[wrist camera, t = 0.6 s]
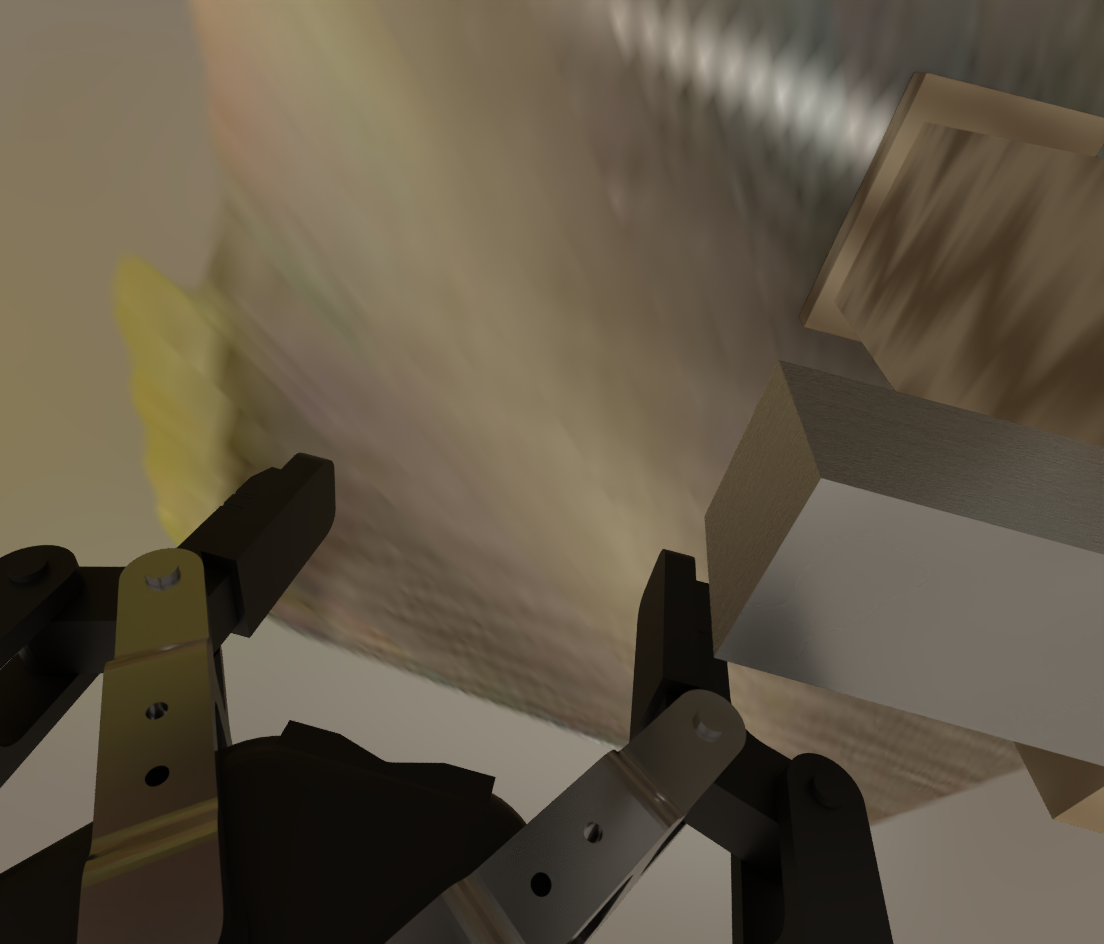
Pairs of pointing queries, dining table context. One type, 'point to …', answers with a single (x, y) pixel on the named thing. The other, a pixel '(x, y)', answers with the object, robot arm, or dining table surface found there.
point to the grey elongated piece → (915, 559)
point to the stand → (983, 287)
